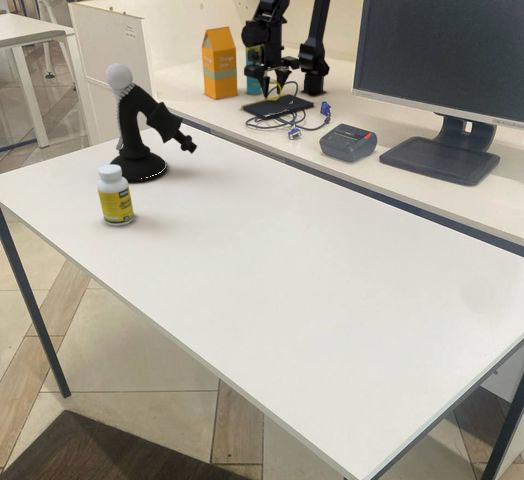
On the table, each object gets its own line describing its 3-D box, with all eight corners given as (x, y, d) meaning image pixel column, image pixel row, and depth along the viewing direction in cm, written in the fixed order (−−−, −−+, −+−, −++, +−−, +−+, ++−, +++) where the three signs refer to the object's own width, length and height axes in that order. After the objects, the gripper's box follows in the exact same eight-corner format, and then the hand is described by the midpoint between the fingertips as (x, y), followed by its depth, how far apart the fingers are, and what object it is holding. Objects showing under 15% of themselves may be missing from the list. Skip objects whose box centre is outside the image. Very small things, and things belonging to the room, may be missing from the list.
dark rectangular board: (288, 97, 181) (288, 93, 180) (313, 106, 173) (313, 103, 172) (241, 109, 172) (241, 105, 171) (266, 120, 164) (266, 116, 163)
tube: (251, 96, 181) (250, 32, 168) (241, 93, 184) (239, 30, 171) (266, 92, 185) (266, 29, 172) (257, 89, 188) (256, 26, 175)
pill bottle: (120, 229, 114) (109, 178, 106) (98, 222, 117) (86, 171, 109) (140, 217, 118) (131, 166, 110) (119, 210, 121) (109, 160, 113)
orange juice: (237, 94, 183) (235, 28, 169) (215, 99, 179) (211, 32, 166) (226, 89, 188) (223, 24, 174) (204, 93, 184) (199, 27, 171)
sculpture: (117, 157, 143) (98, 54, 126) (204, 160, 142) (195, 56, 125) (100, 182, 132) (76, 72, 115) (194, 185, 130) (183, 74, 113)
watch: (262, 101, 172) (262, 81, 168) (262, 98, 174) (262, 79, 170) (281, 101, 172) (281, 81, 168) (280, 98, 174) (281, 79, 170)
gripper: (279, 32, 171) (278, 84, 181) (232, 41, 162) (234, 95, 173) (301, 39, 164) (299, 92, 175) (254, 48, 156) (255, 104, 166)
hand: (272, 96), depth 172 cm, fingers closed on watch, 5 cm apart
